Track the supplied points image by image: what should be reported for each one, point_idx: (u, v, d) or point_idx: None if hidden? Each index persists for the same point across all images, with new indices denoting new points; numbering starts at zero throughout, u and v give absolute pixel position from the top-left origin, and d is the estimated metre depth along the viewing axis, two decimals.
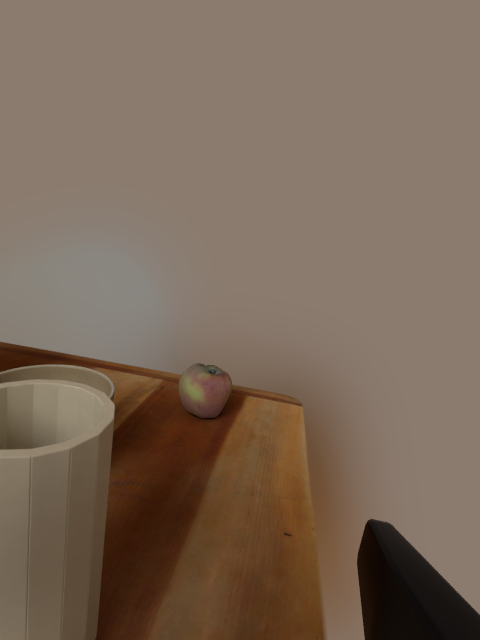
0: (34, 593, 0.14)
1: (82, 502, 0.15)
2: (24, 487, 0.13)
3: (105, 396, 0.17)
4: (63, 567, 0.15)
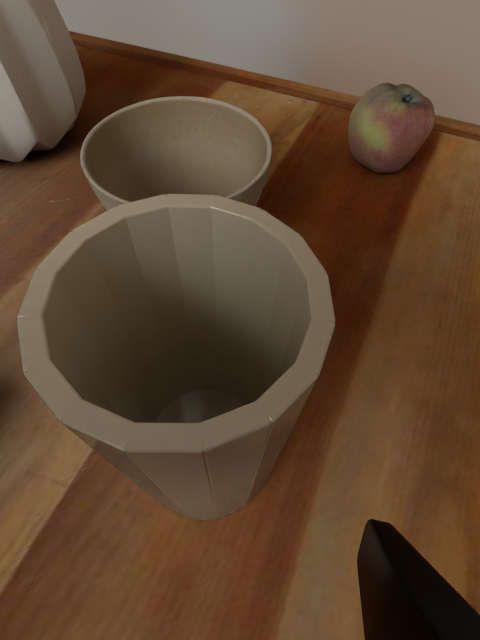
0: (220, 497, 0.11)
1: (279, 439, 0.09)
2: (197, 467, 0.07)
3: (304, 247, 0.09)
4: (253, 477, 0.11)
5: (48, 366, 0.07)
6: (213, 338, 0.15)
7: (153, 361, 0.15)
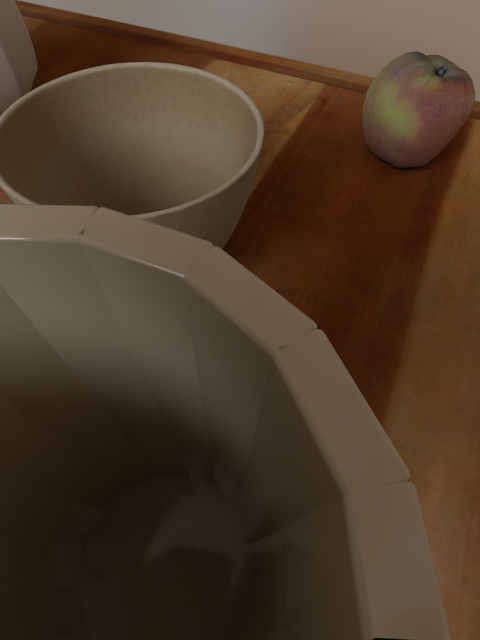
0: None
1: None
2: None
3: (331, 371, 0.03)
4: None
5: None
6: (163, 434, 0.09)
7: (63, 474, 0.09)
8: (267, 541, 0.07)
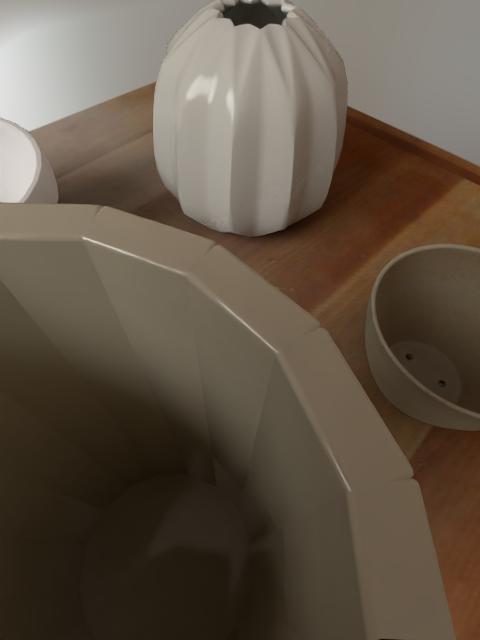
0: None
1: None
2: None
3: (335, 369, 0.03)
4: None
5: None
6: (164, 434, 0.09)
7: (65, 473, 0.09)
8: (268, 540, 0.07)
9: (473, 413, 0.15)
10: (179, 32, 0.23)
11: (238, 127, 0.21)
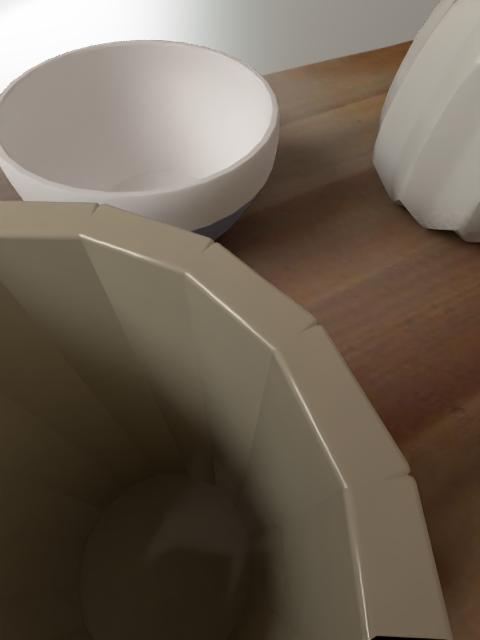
0: None
1: None
2: None
3: (332, 366, 0.03)
4: None
5: None
6: (164, 433, 0.09)
7: (64, 472, 0.09)
8: (267, 539, 0.07)
9: None
10: None
11: None
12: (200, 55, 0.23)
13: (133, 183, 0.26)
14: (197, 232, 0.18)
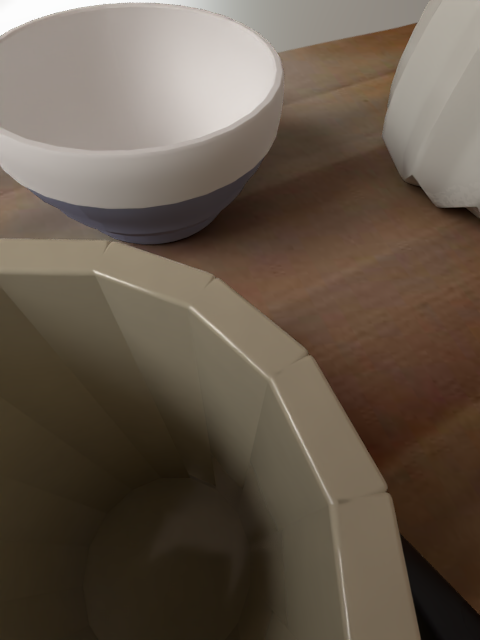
0: None
1: None
2: None
3: (321, 394, 0.03)
4: None
5: None
6: (166, 440, 0.09)
7: (70, 478, 0.09)
8: (266, 542, 0.07)
9: None
10: None
11: None
12: (198, 19, 0.21)
13: None
14: (193, 202, 0.16)
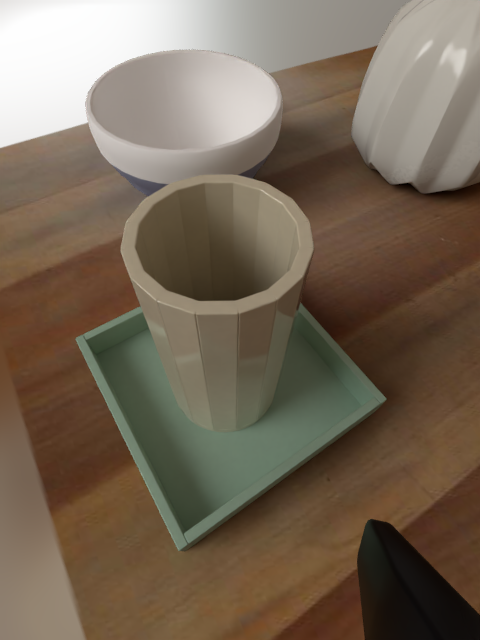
0: (242, 387, 0.16)
1: (281, 332, 0.14)
2: (233, 334, 0.12)
3: (294, 206, 0.13)
4: (264, 372, 0.16)
5: (145, 274, 0.12)
6: (230, 287, 0.20)
7: None
8: None
9: None
10: None
11: (463, 81, 0.24)
12: (223, 60, 0.31)
13: None
14: None
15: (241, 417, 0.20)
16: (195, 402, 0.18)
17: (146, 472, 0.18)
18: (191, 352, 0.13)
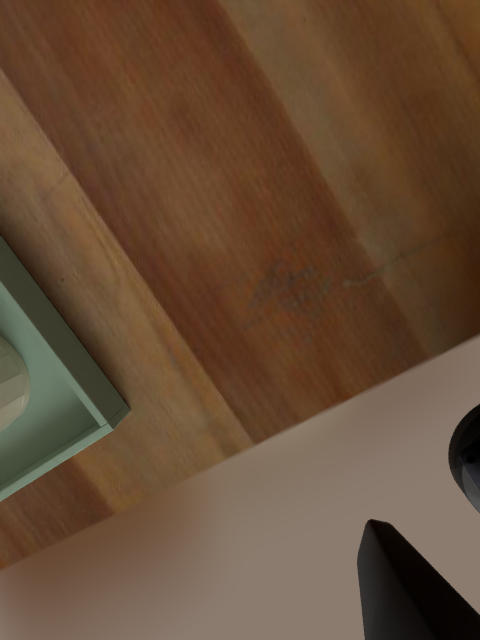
0: None
1: None
2: None
3: None
4: None
5: None
6: None
7: None
8: None
9: None
10: None
11: None
12: None
13: None
14: None
15: None
16: None
17: (58, 459, 0.20)
18: None
